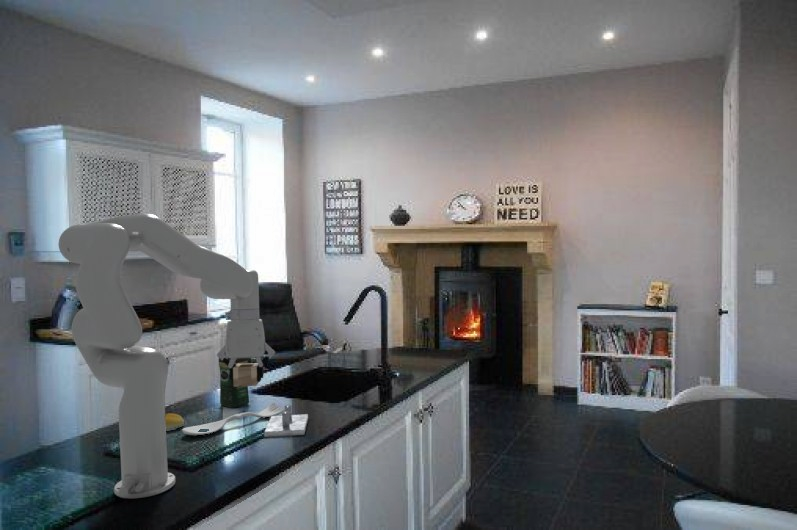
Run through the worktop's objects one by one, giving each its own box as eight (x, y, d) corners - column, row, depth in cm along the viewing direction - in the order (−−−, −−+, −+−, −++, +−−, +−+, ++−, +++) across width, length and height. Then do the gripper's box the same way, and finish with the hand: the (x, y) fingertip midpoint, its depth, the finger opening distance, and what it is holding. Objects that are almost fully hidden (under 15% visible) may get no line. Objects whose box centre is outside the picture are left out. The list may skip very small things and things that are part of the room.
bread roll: (154, 434, 170) (154, 420, 170) (155, 426, 178) (155, 413, 178) (184, 430, 173) (184, 417, 172) (184, 422, 181) (184, 409, 181)
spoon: (290, 417, 183) (289, 406, 183) (190, 443, 162) (190, 430, 161) (275, 411, 190) (274, 401, 190) (177, 435, 168) (177, 423, 168)
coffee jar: (253, 404, 199) (251, 349, 198) (233, 409, 192) (231, 353, 192) (235, 400, 205) (233, 347, 204) (216, 405, 198) (214, 351, 198)
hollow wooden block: (256, 385, 157) (255, 367, 157) (233, 386, 156) (233, 368, 156) (259, 380, 163) (259, 362, 163) (237, 381, 162) (237, 363, 162)
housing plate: (304, 434, 165) (303, 415, 165) (264, 436, 164) (264, 417, 164) (308, 419, 180) (307, 401, 180) (271, 420, 179) (271, 403, 179)
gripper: (209, 317, 155) (211, 385, 155) (275, 315, 156) (277, 383, 156) (215, 314, 162) (217, 379, 162) (279, 313, 163) (280, 377, 164)
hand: (246, 380), depth 159 cm, fingers closed on hollow wooden block, 6 cm apart
